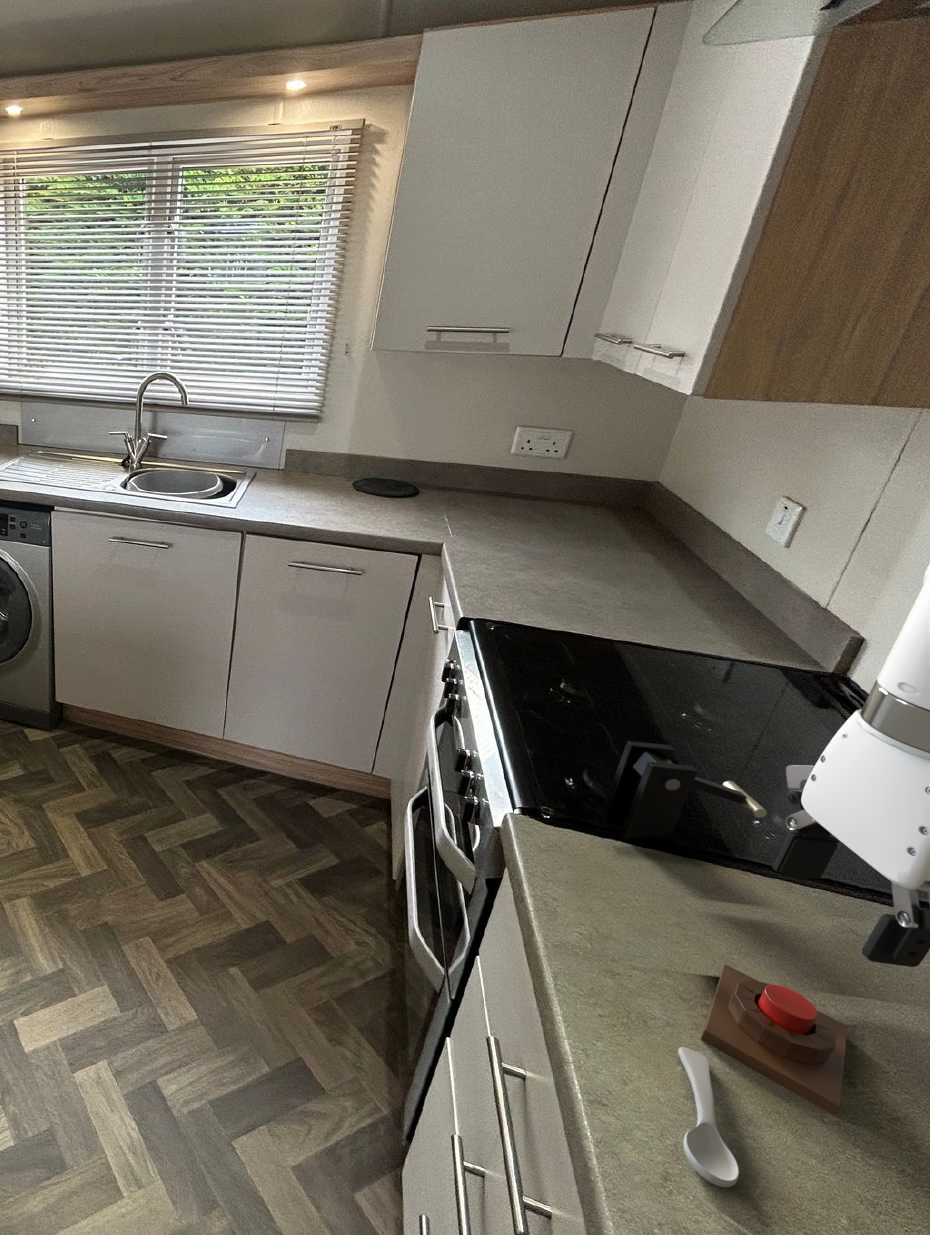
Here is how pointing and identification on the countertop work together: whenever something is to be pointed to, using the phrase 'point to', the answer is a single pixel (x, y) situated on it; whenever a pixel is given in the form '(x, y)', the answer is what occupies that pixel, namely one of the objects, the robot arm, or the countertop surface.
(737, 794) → the switch lever
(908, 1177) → the countertop surface
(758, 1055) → the control block
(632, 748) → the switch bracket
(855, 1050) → the countertop surface
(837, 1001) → the countertop surface
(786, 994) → the power button
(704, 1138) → the spoon
